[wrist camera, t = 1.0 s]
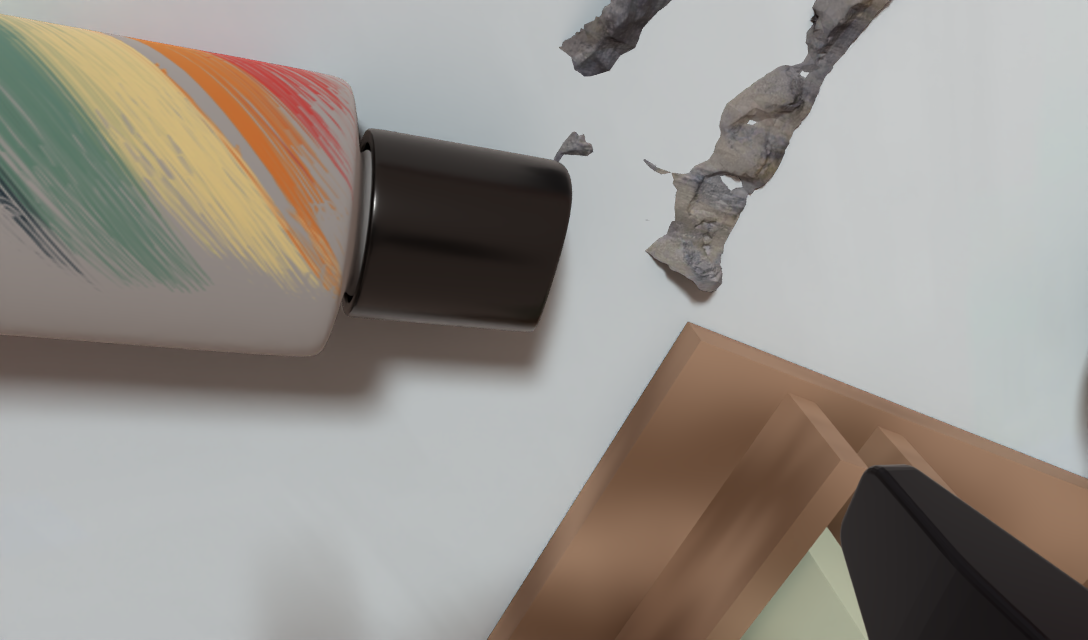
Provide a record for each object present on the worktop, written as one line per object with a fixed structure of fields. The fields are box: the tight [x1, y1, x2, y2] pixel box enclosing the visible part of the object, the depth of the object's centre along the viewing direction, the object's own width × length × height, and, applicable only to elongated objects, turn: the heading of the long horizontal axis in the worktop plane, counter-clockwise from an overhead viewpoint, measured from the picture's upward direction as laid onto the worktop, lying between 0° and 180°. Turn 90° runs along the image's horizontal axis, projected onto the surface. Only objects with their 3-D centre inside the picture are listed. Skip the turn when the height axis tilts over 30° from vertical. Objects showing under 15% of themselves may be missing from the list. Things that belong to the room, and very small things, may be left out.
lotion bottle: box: [0, 14, 572, 357], centre depth 17 cm, size 6×6×20 cm
